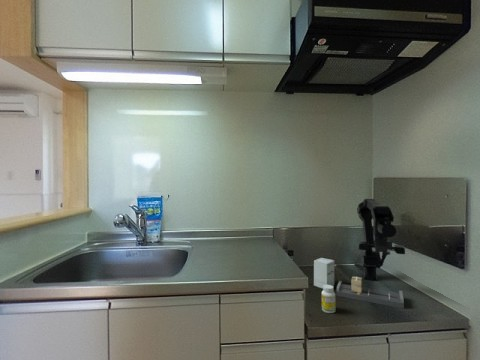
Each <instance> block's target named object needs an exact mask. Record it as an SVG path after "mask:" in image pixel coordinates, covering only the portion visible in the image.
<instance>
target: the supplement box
mask: <svg viewBox="0 0 480 360" xmlns="http://www.w3.org/2000/svg"><path fill="white" fill-rule="evenodd" d="M323 285H331V286H333V287H335V260H333V259H329V258H323V257H320V258H317V259H315V260H313V286H315V287H317V288H319V289H323Z"/></svg>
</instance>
